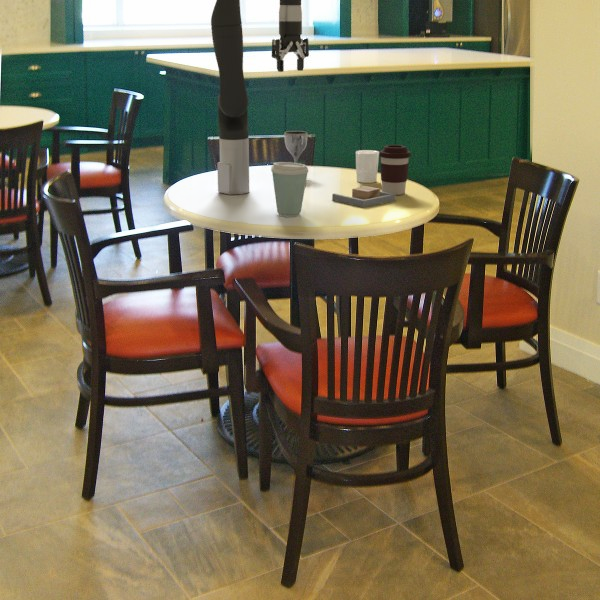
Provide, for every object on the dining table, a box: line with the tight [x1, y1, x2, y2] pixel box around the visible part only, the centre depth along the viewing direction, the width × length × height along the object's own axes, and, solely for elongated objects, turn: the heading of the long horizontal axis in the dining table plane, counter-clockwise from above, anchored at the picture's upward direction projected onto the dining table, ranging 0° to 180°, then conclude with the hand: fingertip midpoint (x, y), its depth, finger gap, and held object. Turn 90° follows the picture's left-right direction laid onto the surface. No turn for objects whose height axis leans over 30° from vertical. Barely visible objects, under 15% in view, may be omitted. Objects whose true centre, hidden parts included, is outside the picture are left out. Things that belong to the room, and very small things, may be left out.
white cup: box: [355, 149, 380, 184], centre depth 301 cm, size 8×8×10 cm
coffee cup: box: [378, 144, 412, 196], centre depth 281 cm, size 10×10×15 cm
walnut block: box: [351, 185, 381, 200], centre depth 272 cm, size 6×6×4 cm
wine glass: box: [284, 130, 308, 163], centre depth 310 cm, size 8×8×15 cm
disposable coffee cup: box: [270, 161, 309, 218], centre depth 252 cm, size 11×11×15 cm
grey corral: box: [331, 190, 397, 208], centre depth 273 cm, size 14×14×2 cm
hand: (290, 71), depth 294 cm, fingers open, 8 cm apart
